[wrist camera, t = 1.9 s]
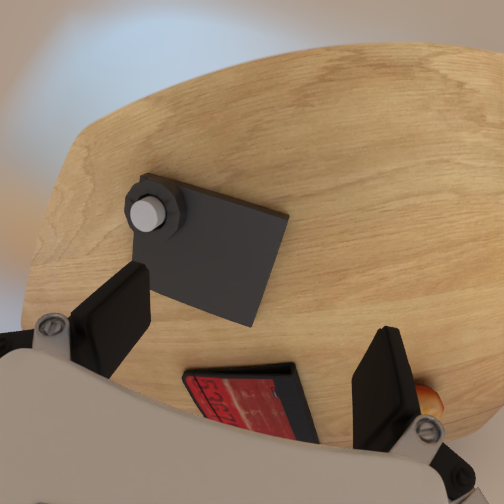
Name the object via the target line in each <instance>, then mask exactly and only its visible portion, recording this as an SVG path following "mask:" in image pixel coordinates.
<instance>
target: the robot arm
mask: <svg viewBox="0 0 504 504" xmlns="http://www.w3.org/2000/svg"><path fill="white" fill-rule="evenodd" d="M150 322H151V312H150V272H149V269H147V267H146V265H145V264H143V263H140V262H136V261H131V262H130V263H128V264H127V265H126V266H125V267H123V268H122V269H121V270H120V271H119V272H117V273H116V274H115V275H114V276H113V277H111V278H110V279H109V280H108V281H107V282H106V283H104V284H103V285H102V286H101V287H100V288H98V289H97V290H96V291H95V292H94V293H93V294H92V295H90V296H89V297H88V298H87V299H86V300H85V301H84V302H82V303H81V304H80V305H79V306H78V307H77V308H76V309H75V310H73V311H72V312H71V316H70V317H68V318H67V317H66V316H64V315H63V314H60V313H49V314H46V315H44V316H42V317H41V318H39V319H38V321H37V322H36V324H35V328H34V329H31V330H23V331H16V332H8V333H0V504H489V503H488V501H487V500H486V498H485V497H484V495H483V494H482V492H481V490H480V489H479V487H477V488H476V489H475V488H474V485H475V479H476V477H475V472H474V470H473V468H472V467H471V466H470V465H469V464H468V463H467V462H465V461H464V460H463V459H462V458H461V457H460V456H458V455H457V454H456V453H455V452H454V451H452V450H451V449H450V448H449V447H448V446H446V445H445V444H444V443H443V440H444V437H445V430H444V427H443V425H442V424H441V422H440V421H439V420H438V419H437V418H436V417H434V416H432V415H428V414H421V410H420V405H419V400H418V396H417V392H416V387H415V383H414V379H413V375H412V371H411V368H410V365H409V363H408V359H407V355H406V352H405V348H404V345H403V341H402V338H401V335H400V331H399V329H398V328H394V327H389V326H384V327H383V328H382V329H378V331H377V333H376V335H375V337H374V338H373V340H372V342H371V344H370V346H369V348H368V350H367V351H366V353H365V355H364V357H363V359H362V360H361V362H360V364H359V365H358V367H357V369H356V371H355V372H354V374H353V377H352V404H353V449H349V448H341V447H334V446H327V445H320V444H313V443H307V442H301V441H295V440H290V439H285V438H280V437H275V436H271V435H266V434H262V433H258V432H254V431H250V430H246V429H242V428H238V427H234V426H231V425H227V424H224V423H220V422H217V421H214V420H210V419H207V418H204V417H201V416H198V415H195V414H192V413H189V412H186V411H183V410H181V409H178V408H175V407H172V406H170V405H167V404H165V403H162V402H159V401H157V400H154V399H152V398H149V397H147V396H145V395H142V394H140V393H138V392H135V391H133V390H131V389H128V388H126V387H124V386H122V385H120V384H118V383H115V382H113V381H111V380H109V378H110V377H111V376H112V374H113V373H114V372H115V370H116V369H117V368H118V366H119V365H120V364H121V362H122V361H123V360H124V358H125V357H126V356H127V355H128V353H129V352H130V351H131V349H132V348H133V347H134V345H135V344H136V343H137V342H138V340H139V339H140V338H141V336H142V335H143V334H144V333H145V331H146V330H147V329H148V327H149V325H150Z"/></svg>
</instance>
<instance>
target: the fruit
mask: <svg viewBox="0 0 504 504" xmlns="http://www.w3.org/2000/svg"><path fill="white" fill-rule="evenodd" d="M415 387H416V392H417V396H418V400H419V405H420V410H421V414H428V415H432V416H434V417H436V418H437V419H438V420H439V421H440V419H441V416H442V413H443V411H444V406H443V404H442V401H441V399H440V397H439V395H438V393H437V392H436V391H434V390H432V389H431V388H429V387H427V386H421V385H415Z"/></svg>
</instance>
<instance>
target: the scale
mask: <svg viewBox="0 0 504 504" xmlns="http://www.w3.org/2000/svg"><path fill="white" fill-rule="evenodd" d="M148 196H153V197H156V198H158V199H159V200H160V201H161V202H162V203H163V205H164V207H165V212H166V215H165V219H164V221H163V223H162V224H160V225H159V226H158V227H156V228H155V229H153V230H152V231H149V232H143V231H140V230H139V229H137V228H136V227H135V226H134V224H133V222H132V220H131V216H130V212H131V208H132V206H133V204H134V203H135V202H137V201H139V200H141V199H143V198H145V197H148ZM124 212H125V215H126V218H127V221H128V224H129V226H130V228H131V229H132V230H133V231H134V240H133V255H132V261H136V262H140V263H143V264H145V265H146V267H147V269H149V272H150V290H152V291H155V292H157V293H159V294H162V295H164V296H167V297H169V298H172V299H174V300H177V301H179V302H182V303H185V304H187V305H190V306H192V307H195V308H198V309H200V310H203V311H206V312H208V313H211V314H214V315H216V316H219V317H222V318H225V319H227V320H230V321H233V322H236V323H239V324H242V325H245V326H248V327H250V328H251V327H252V325H253V322H254V319H255V316H256V313H257V311H258V308H259V305H260V302H261V299H262V296H263V293H264V290H265V288H266V285H267V282H268V279H269V276H270V273H271V270H272V267H273V264H274V261H275V258H276V255H277V252H278V249H279V247H280V244H281V241H282V238H283V235H284V232H285V229H286V225H287V222H288V219H289V215H286V214H283V213H280V212H277V211H274V210H271V209H268V208H265V207H262V206H259V205H256V204H252V203H249V202H246V201H243V200H240V199H236V198H233V197H230V196H227V195H223V194H220V193H217V192H213V191H210V190H206V189H203V188H200V187H196V186H193V185H189V184H186V183H182V182H179V181H175V180H172V179H168V178H164V177H161V176H157V175H153V174H150V173H147V174H144V175H141V176H140V182H138V183H136V184H134V185H133V187H132V188H131V189H130V191H129V192H128V194H127V195H126V198H125V208H124Z"/></svg>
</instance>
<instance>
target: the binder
mask: <svg viewBox="0 0 504 504" xmlns="http://www.w3.org/2000/svg"><path fill="white" fill-rule="evenodd" d="M182 381H183V383H184V385H185V387H186V388H187V390H188V392H189V394H190V396H191V397H192V399H193V401H194V402H195V404H196V405H197V407H198V408H199V410H200V411H201V413H202V414H203V416H204V417H205V418H207V419H210V420H214V421H217V422H220V423H224V424H227V425H231V426H234V427H238V428H242V429H246V430H250V431H254V432H258V433H262V434H266V435H271V436H275V437H280V438H285V439H290V440H295V441H301V442H307V443H313V444H320V443H319V441H318V437H317V433H316V430H315V427H314V424H313V420H312V417H311V414H310V411H309V408H308V405H307V402H306V399H305V395H304V392H303V389H302V386H301V383H300V379H299V376H298V373H297V370H296V365H295V364H294V363H293V362H292V363H284V364H276V365H268V366H259V367H248V368H234V369H215V370H194V371H193V370H190V371H185V372H184V373H183V375H182Z"/></svg>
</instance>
